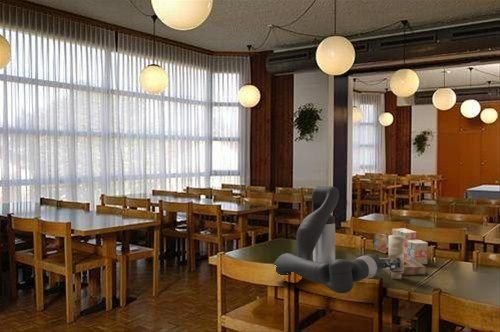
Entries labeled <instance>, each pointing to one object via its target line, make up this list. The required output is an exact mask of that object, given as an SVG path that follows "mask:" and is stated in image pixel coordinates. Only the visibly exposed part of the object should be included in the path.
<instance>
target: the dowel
mask: <svg viewBox="0 0 500 332" xmlns="http://www.w3.org/2000/svg"><path fill="white" fill-rule="evenodd" d="M388 236H389V253H388V258H389V259H396V258H400V261H401V262H400V266H401V268H398V269H395V270H390V269H388V270H389V272H391V275H390V278H391V279H393V280H402V275H401V273H403V272H404V236H401V235H393V234H389V235H388Z"/></svg>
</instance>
